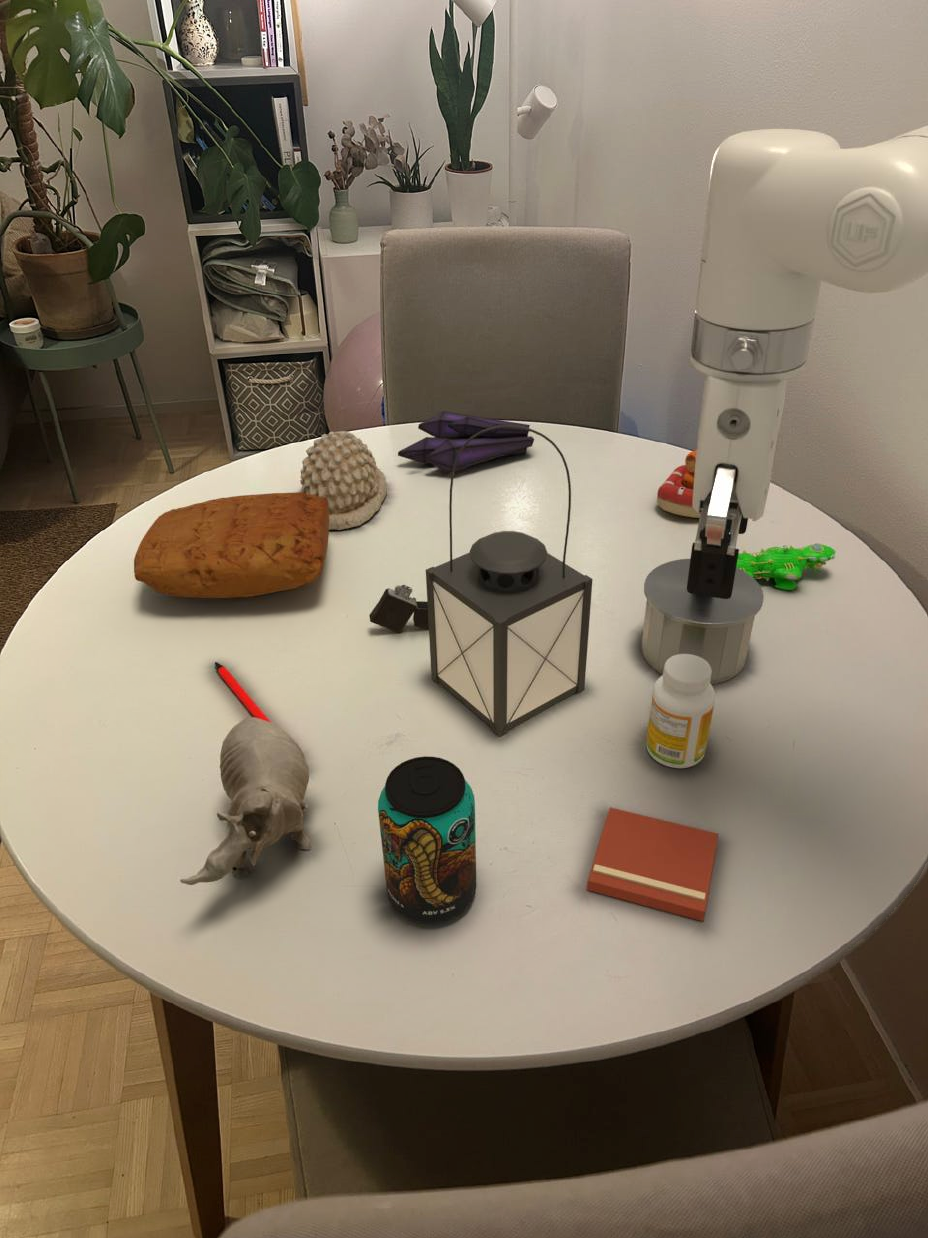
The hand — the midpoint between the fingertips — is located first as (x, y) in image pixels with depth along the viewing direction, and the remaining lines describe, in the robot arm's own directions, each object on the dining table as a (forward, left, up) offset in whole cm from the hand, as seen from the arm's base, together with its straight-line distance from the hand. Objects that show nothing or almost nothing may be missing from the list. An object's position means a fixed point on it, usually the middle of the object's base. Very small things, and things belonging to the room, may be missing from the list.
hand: (717, 560), depth 70 cm
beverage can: (+17, +21, -22) cm, 34 cm away
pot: (+2, -16, -21) cm, 27 cm away
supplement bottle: (+1, -1, -22) cm, 22 cm away
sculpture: (+52, -35, -22) cm, 66 cm away
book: (+1, +13, -21) cm, 25 cm away
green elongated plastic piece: (-3, -32, -22) cm, 39 cm away
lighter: (+32, -11, -22) cm, 40 cm away
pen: (+41, +7, -22) cm, 46 cm away
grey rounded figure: (+32, +21, -22) cm, 43 cm away
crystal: (+39, -52, -22) cm, 69 cm away
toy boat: (+7, -48, -22) cm, 53 cm away
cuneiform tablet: (+55, -14, -22) cm, 60 cm away
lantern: (+19, -5, -22) cm, 29 cm away
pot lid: (+2, -16, -14) cm, 21 cm away
